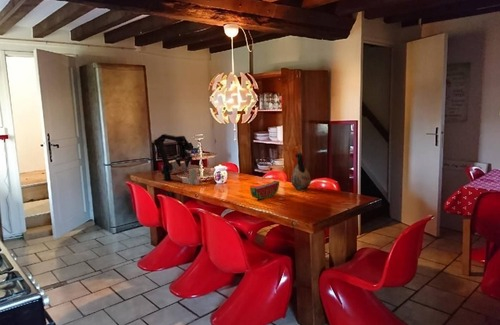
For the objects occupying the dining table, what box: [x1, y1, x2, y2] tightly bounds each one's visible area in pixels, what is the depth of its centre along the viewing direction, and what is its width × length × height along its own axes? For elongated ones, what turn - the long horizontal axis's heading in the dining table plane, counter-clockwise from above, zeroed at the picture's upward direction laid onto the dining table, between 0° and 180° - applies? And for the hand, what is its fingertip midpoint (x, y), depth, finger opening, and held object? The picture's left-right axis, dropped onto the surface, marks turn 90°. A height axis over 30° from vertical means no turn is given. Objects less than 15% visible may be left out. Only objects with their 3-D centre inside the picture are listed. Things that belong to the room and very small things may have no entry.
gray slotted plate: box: [188, 168, 198, 186], centre depth 324 cm, size 6×3×13 cm, turn 145°
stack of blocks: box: [168, 159, 188, 175], centre depth 377 cm, size 21×6×12 cm, turn 138°
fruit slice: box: [249, 180, 280, 200], centre depth 273 cm, size 26×6×10 cm, turn 134°
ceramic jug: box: [290, 152, 312, 192], centre depth 288 cm, size 17×15×30 cm
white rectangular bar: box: [181, 177, 200, 186], centre depth 327 cm, size 18×2×4 cm, turn 55°
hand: (183, 167), depth 334 cm, fingers open, 9 cm apart
